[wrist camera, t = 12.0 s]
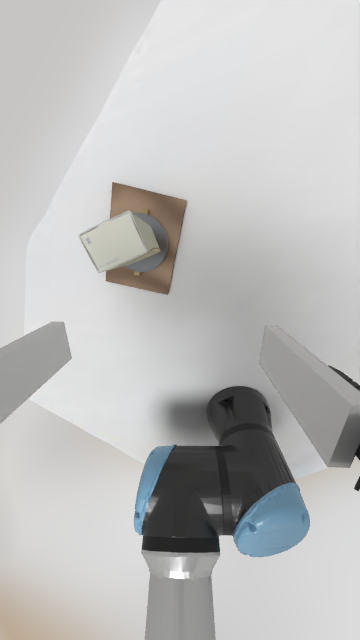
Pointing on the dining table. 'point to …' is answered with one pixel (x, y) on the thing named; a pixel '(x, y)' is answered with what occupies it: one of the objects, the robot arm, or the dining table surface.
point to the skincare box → (119, 242)
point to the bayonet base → (166, 218)
